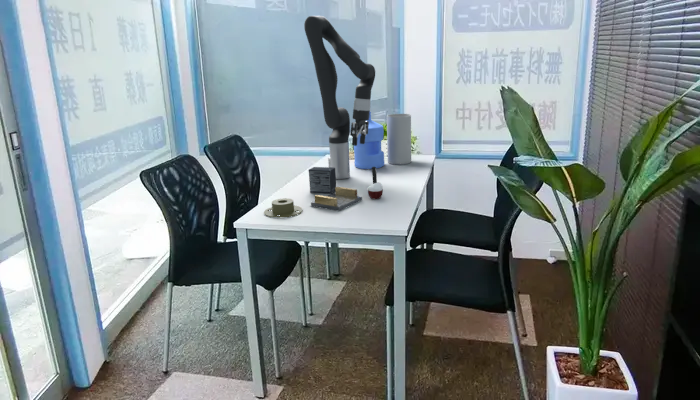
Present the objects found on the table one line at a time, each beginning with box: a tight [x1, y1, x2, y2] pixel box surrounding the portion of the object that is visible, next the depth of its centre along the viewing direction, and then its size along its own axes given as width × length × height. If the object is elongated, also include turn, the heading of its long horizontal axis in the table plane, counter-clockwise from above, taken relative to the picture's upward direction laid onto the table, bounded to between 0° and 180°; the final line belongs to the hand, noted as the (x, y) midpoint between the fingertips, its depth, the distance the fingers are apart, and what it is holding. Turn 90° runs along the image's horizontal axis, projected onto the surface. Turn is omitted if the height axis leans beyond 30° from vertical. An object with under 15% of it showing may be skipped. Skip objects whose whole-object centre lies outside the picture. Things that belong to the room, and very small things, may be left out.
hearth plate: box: [310, 186, 363, 211], centre depth 217 cm, size 14×16×4 cm
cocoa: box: [367, 167, 384, 200], centre depth 222 cm, size 10×6×12 cm, turn 160°
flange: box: [263, 198, 304, 218], centre depth 209 cm, size 5×15×15 cm
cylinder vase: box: [386, 113, 412, 166], centre depth 282 cm, size 12×12×25 cm
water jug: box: [353, 111, 385, 170], centre depth 276 cm, size 16×16×28 cm
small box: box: [308, 166, 337, 195], centre depth 235 cm, size 11×6×10 cm, turn 71°
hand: (358, 144), depth 245 cm, fingers open, 8 cm apart
